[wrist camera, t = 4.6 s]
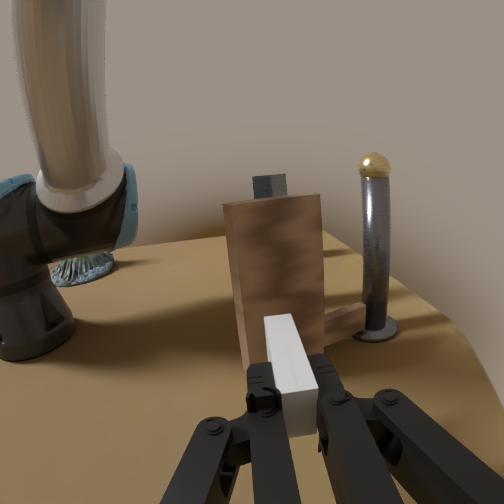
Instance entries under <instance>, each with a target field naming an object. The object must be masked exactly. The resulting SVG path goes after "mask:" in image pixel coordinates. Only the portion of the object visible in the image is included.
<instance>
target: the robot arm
mask: <svg viewBox="0 0 504 504" xmlns="http://www.w3.org/2000/svg"><path fill="white" fill-rule="evenodd" d="M9 1H10V21H11V33H12V43H13V51H14V59H15V65H16V72H17V77H18V83H19V88H20V93H21V98H22V103H23V107H24V111H25V116H26V120H27V124H28V127H29V131H30V135H31V138H32V142H33V146H34V149H35V152H36V155H37V159H38V162H39V165H40V168H41V170H40V172H39V174H38V177H37V181H36V182H35V181H34V179H33V176H32V175H31V174H21V175H17V176H14V177H11V178H9V179H4V180H2V181H0V358H2V359H4V360H10V361H18V360H25V359H30V358H33V357H37V356H39V355H42V354H44V353H47V352H49V351H51V350H53V349H54V348H56V347H58V346H59V345H61V344H62V343H63V342H65V341H66V340H67V339H68V338H69V337H70V336H71V334H72V333H73V331H74V329H75V321H74V318H73V315H72V312H71V310H70V308H69V307H68V305H67V304H66V302H65V301H64V299H63V298H62V296H61V294H60V293H59V291H58V290H57V288H56V286H55V285H54V283H53V282H52V279H51V276H50V272H49V268H48V264H49V263H54V262H58V261H63V260H68V259H72V258H77V257H82V256H87V255H92V254H98V253H103V252H112V251H114V250H115V249H119V248H122V247H126V246H129V245H131V244H132V243H133V242H134V240H135V238H136V235H137V230H138V208H137V202H138V195H137V183H136V177H135V171H134V168H133V166H132V165H131V164H129V163H124V162H123V161H122V159H121V157H120V155H119V154H118V152H117V151H115V150H114V149H113V148H111V147H109V138H108V127H107V113H106V96H105V56H104V55H105V18H106V2H107V0H9ZM264 324H265V334H266V345H267V356H268V362H263V363H254V364H250V365H249V367H248V369H247V370H246V373H247V389H248V393H247V395H246V403H247V411H246V412H245V414H244V415H242V416H241V417H239V418H237V419H234V420H231V421H228V420H226V419H225V418H222V417H209V418H206V419H204V420H202V421H201V422H200V423H199V424H198V425H197V427H196V429H195V431H194V433H193V435H192V437H191V440H190V442H189V444H188V446H187V448H186V450H185V452H184V454H183V456H182V458H181V461H180V463H179V465H178V467H177V469H176V471H175V473H174V475H173V477H172V479H171V481H170V483H169V485H168V487H167V489H166V491H165V493H164V496H163V498H162V500H161V502H160V504H229V501H230V498H231V495H232V492H233V488H234V485H235V482H236V478H237V475H238V472H239V468H240V466H241V465H244V464H247V463H250V462H251V464H252V478H253V491H254V504H301V500H300V495H299V490H298V485H297V480H296V475H295V470H294V465H293V460H292V455H291V450H290V445H289V440H288V438H291V437H298V436H304V435H310V434H316V433H317V428H318V432H319V444H318V453H319V452H321V451H322V455H323V458H324V462H325V465H326V468H327V472H328V475H329V479H330V482H331V486H332V489H333V493H334V496H335V500H336V503H337V504H404V503H403V501H402V499H401V496H400V494H399V492H398V490H397V488H396V485H395V483H394V481H393V479H392V477H391V474H392V475H393V476H394V478H395V479H396V480H397V481H398V482H399V483H400V484H401V486H402V487H403V488H404V489H405V490H406V491H407V492H408V493H409V495H410V496H411V497H412V498H413V499H414V500H415V501H416V502H417V503H418V504H504V479H503V478H502V477H500V476H499V475H498V474H497V473H496V472H494V471H493V470H492V469H491V468H490V467H488V466H487V465H486V464H485V463H484V462H483V461H481V460H480V459H479V458H478V457H477V456H475V455H474V454H473V453H472V452H471V451H470V450H468V449H467V448H466V447H465V446H464V445H462V444H461V443H460V442H459V441H458V440H457V439H455V438H454V437H453V436H452V435H451V434H449V433H448V432H447V431H446V430H445V429H444V428H442V427H441V426H440V425H439V424H438V423H437V422H435V421H434V420H433V419H432V418H431V417H429V416H428V415H427V414H426V413H425V412H424V411H422V410H421V409H420V408H419V407H418V406H417V405H415V404H414V403H413V402H412V401H411V400H410V399H408V398H407V397H406V396H405V395H404V394H403V393H401V392H400V391H398V390H395V389H384V390H380V391H379V392H377V393H376V394H375V396H374V398H356V397H353V395H352V394H351V393H350V392H348V391H346V390H345V389H344V387H343V385H342V383H341V381H340V379H339V377H338V374H337V372H336V371H335V368H334V366H333V364H332V362H331V360H330V358H329V357H327V356H326V355H324V354H323V353H322V354H316V355H310V356H306V353H305V350H304V348H303V345H302V342H301V339H300V337H299V334H298V331H297V329H296V326H295V324H294V321H293V318H292V316H291V313H290V314H282V315H274V316H266V317H264ZM390 473H391V474H390Z"/></svg>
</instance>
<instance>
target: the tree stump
mask: <svg viewBox="0 0 504 504" xmlns="http://www.w3.org/2000/svg"><path fill="white" fill-rule="evenodd" d="M112 255H113V254H110V252H103V253H98V254H92V255H87V256H82V257H77V258H72V259H68V260H63V261H60V263H59V264H58V265H57V266H56V267H55V269H53V270H51V272H52V275H51V279H52V282H53V283H54V285H55V286H57V287H67V286H75V285H80V284H84V283H88V282H91V281H93V280H96V279H98V278H100V277H103V276H105V275H107V274H108V273H109V272H110V271H111V269H112V266H113V262H114V258H113V256H112Z"/></svg>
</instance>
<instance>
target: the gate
mask: <svg viewBox="0 0 504 504" xmlns="http://www.w3.org/2000/svg"><path fill="white" fill-rule="evenodd" d="M222 205H223V214H224V222H225V231H226V240H227V248H228V257H229V265H230V273H231V281H232V289H233V297H234V304H235V312H236V319H237V327H238V334H239V342H240V349H241V356H242V363H243V370H244V373H245V374H246V375H247V373H246V370H247V369H248V367H249V365H250V364H254V363H263V362H268V356H267V345H266V334H265V324H264V317H266V316H274V315H282V314H290V313H291V316H292V318H293V321H294V324H295V326H296V329H297V331H298V334H299V337H300V339H301V342H302V345H303V348H304V350H305V353H306V356H310V355H316V354H322V353H323V354H324V347H325V346H328V345H330V344H332V343H335V342H337V341H340V340H342V339H344V338H346V337H349V336H351V335H353V334H356V333H358V332H360V331H362V330H364V329H365V318H366V305H365V304H363V303H361V302H357V303H354V304H352V305H349V306H347V307H344V308H341V309H339V310H336V311H333V312H330V313H328V314H325V315H324V265H323V238H322V219H321V202H320V194H316V193H302V194H293V195H285V196H276V197H268V198H261V199H253V200H246V201H239V202H232V203H225V204H222Z"/></svg>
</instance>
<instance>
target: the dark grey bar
mask: <svg viewBox="0 0 504 504" xmlns="http://www.w3.org/2000/svg"><path fill="white" fill-rule="evenodd" d="M252 178H253V189H254V199H261V198H268V197H276V196H285V195H287V186H286V175H285V174H275V175H263V176H253V177H252Z"/></svg>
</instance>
